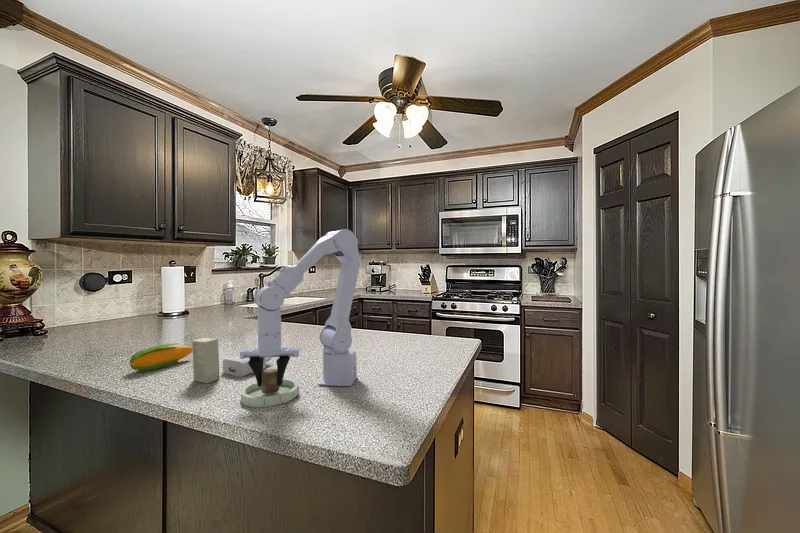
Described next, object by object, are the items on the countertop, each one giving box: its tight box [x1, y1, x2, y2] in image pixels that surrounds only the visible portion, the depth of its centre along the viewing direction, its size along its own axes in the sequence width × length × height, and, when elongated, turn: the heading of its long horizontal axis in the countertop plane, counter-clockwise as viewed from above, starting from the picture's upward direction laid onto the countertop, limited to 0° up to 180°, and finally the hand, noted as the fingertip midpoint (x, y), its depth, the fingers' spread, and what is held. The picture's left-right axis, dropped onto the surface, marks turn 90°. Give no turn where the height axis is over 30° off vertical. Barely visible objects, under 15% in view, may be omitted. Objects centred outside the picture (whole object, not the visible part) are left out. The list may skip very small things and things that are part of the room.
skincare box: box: [191, 337, 220, 384], centre depth 103 cm, size 6×4×12 cm
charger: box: [222, 354, 273, 378], centre depth 114 cm, size 5×9×15 cm
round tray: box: [240, 377, 300, 408], centre depth 90 cm, size 14×14×2 cm
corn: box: [129, 342, 192, 372], centre depth 117 cm, size 7×8×20 cm
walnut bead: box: [261, 368, 279, 394], centre depth 90 cm, size 4×4×5 cm
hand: (270, 384), depth 90 cm, fingers closed on walnut bead, 4 cm apart
